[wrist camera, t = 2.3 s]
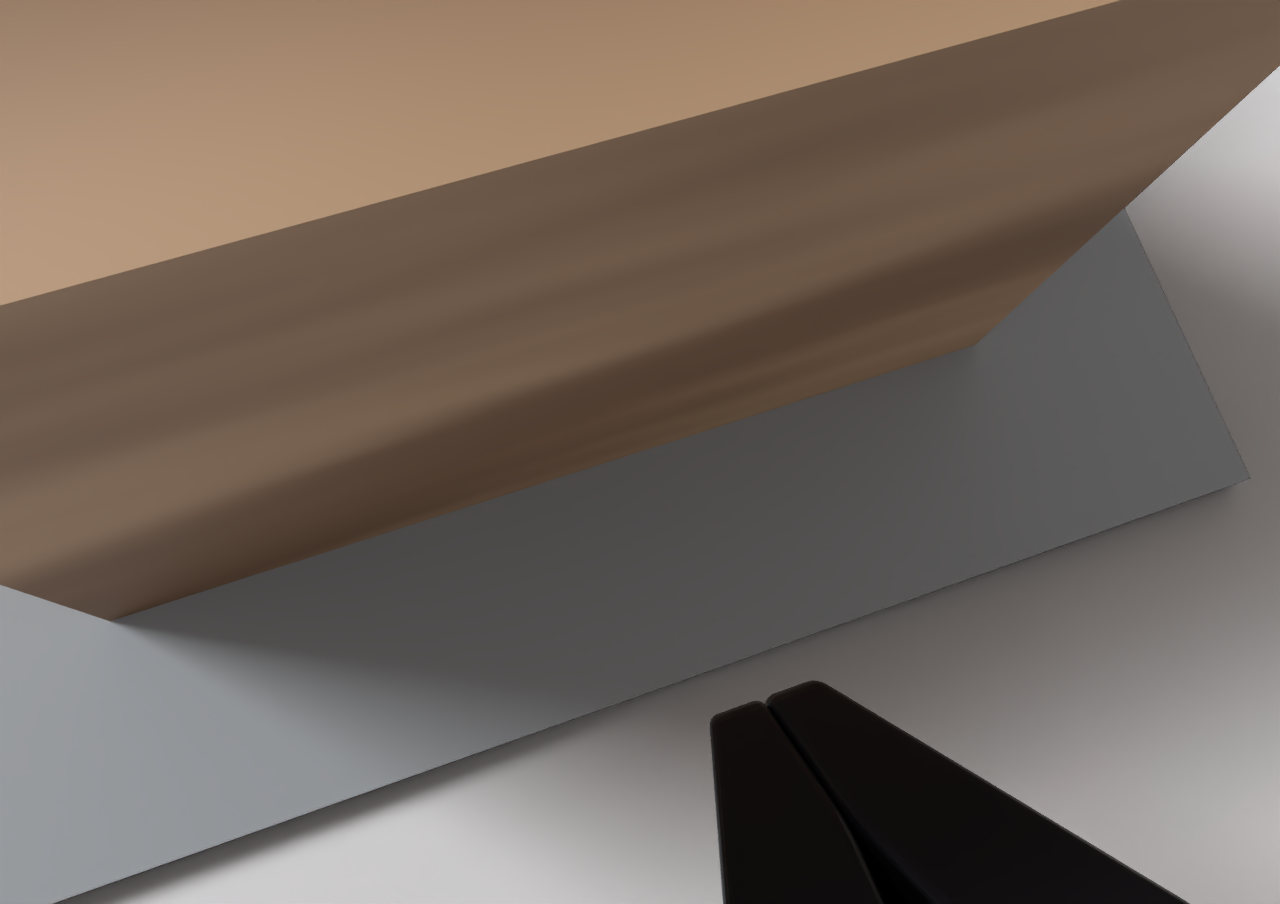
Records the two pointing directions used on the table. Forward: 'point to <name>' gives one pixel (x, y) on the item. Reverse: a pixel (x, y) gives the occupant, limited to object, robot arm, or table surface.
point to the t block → (514, 239)
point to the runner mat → (592, 584)
